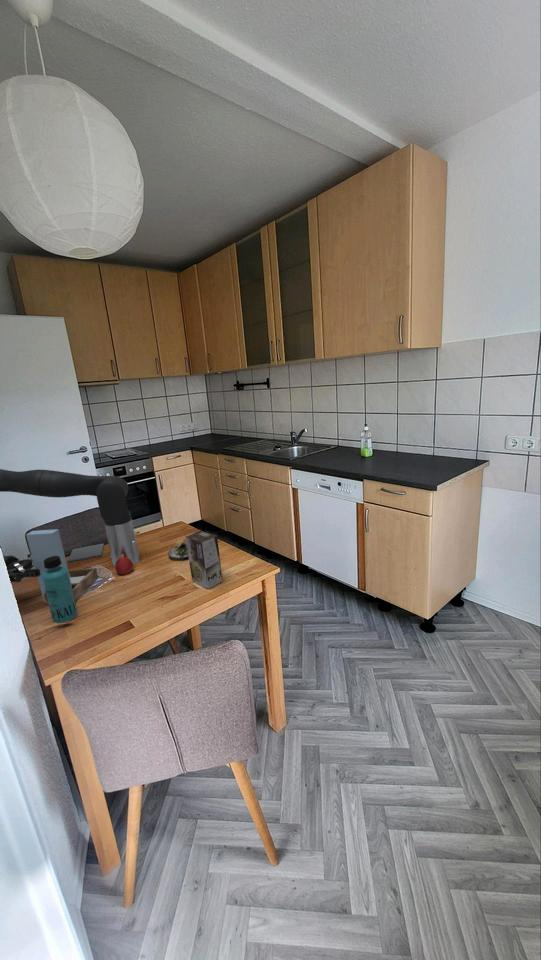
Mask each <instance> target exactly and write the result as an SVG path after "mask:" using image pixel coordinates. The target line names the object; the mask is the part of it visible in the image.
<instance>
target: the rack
mask: <svg viewBox="0 0 541 960" xmlns="http://www.w3.org/2000/svg"><path fill="white" fill-rule="evenodd" d="M68 572H69V576H70V578H73V577H79V576H85V577H84V578H83V579H82V580H81V581H80V582H79V583H71V584H72V588H73V589H72V592H73V594H74V595H73V596H74V600H75V602H76V603H77V602H78V601H79V600H80V599H81V597H83V595H84V594H85V593H86V592H87V591H88V590H89V589H90V588H91V587H92V586H93V584H95V582H96V581H97V580H98V579H99V576H98V572H97V567H96V568H95V567H93V568H91V567H90V568H78V569H77V568H75V569H70V570H68ZM44 598H45V601H46V603H45V604H46V606H49V602H48V598H47V594H46V593H44Z"/></svg>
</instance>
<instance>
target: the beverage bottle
mask: <svg viewBox="0 0 541 960" xmlns="http://www.w3.org/2000/svg"><path fill="white" fill-rule="evenodd" d="M59 565H61V560H60V557H59V556H52V557H49V558H46V559H45V560H44V567H45V568H46V569H48V570H46V571H45V573H44V574H43V576H42V578H43V581H44V585H45V591H46V594H47V598H48V602H49V605H48V607H49V611H50V613H51V619H52V621H53V622H54V623H55V624H65V623H67V622H70V621H72V620H74V619H75V617H77V615H78V609H77V604H76V603H77V602H75V600H74V596H73V595H74V594H73V592H72V588H71V584H70V580H69V576H70V574H69V575H68V572H69V569H68V570H67V569H66V568H64V567H62V566H59Z"/></svg>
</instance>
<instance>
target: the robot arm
mask: <svg viewBox="0 0 541 960" xmlns="http://www.w3.org/2000/svg"><path fill="white" fill-rule="evenodd" d="M129 488H130V487H129V484H128V482H127V481H126V480H125V479H124V478H122V477H120V476H117V475H86V474H80V473H74V472H65V471H59V470H58V471H57V470H51V469H32V470H31V469H30V470H25V471H14V470H8V469H3V468H0V493H1V492H3V493H4V492H6V493H8V492H10V493H18V494H24V495H30V496H38V497H46V498H47V497H48V498H69V497H71V498H72V497H77V496H79V497H80V496H92V497H93V496H94V497H96V500H97V505H98V509H99V514H100V515H101V518H102V520H103V523H104V528H105V532H106V537H107V541H108V546H109V552H110V556H111V560H112V561H111V562H112V566H113V567H114V568H115V564H116V561H117V560H118V559H119V558H120V557H121V555H123V554H124V556H125V557H128V558H129V559H131V561H132V563H133V565H134V564H138V563H140V553H139V548H138V543H137V536H136V534H135V529H134V523H133V518H132V513H131V511H130V510H129V509H128V503H127V499H126V496H127V495H128V492H129ZM2 556H3V557H4V561H5V563H6V566H7V570H8V574H9V578H10V581H11V582H10V583H20V582H22V579H23V580H25V579H28V578H36V577H39V576H40V575H41V573H40V570H39V569H35V566H34V563H33V559H32V555H31V553H29V554H27V555H26V556H27V557H25V558H24V557H23V558H20V559H19V558H17V557H16V556H14V555H2Z"/></svg>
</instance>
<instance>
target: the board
mask: <svg viewBox="0 0 541 960" xmlns="http://www.w3.org/2000/svg"><path fill="white" fill-rule="evenodd" d="M59 530H60V529H58V528H56V529H42V530H31V531H30V532H28V533H27V534H26V539H27V543H28V544H27V545H28V547H29V550H30V554H31V555H32V559H33V563H32V564H33V565H34V566H35V568H34V569H39V570H40V573H41V575H40V576H39V577H37V581H38V586H39V588H40V589H39V590H40V593H41V597H42V601H43V603H44V604H46V601H45V598H44V593H46V591H45V585H44V581H43V578H42V576H43V574H44V573H45V571H46V570H48V569H46V568H45V567H44V560H45V559H46V558H49V557H52V556H59V557H60V560H61V565H59V566H62V567H64V568H66V569H67V570H68V575H69V580H70V578H71V576H70V572H69V568H68V564H67V563H68V562H67V559H66V555H65V551H64V546H63V543H62V539H61V535H60V534H61V533H60V531H59ZM70 584H71V580H70ZM71 588H72V584H71ZM72 589H73V588H72Z"/></svg>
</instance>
